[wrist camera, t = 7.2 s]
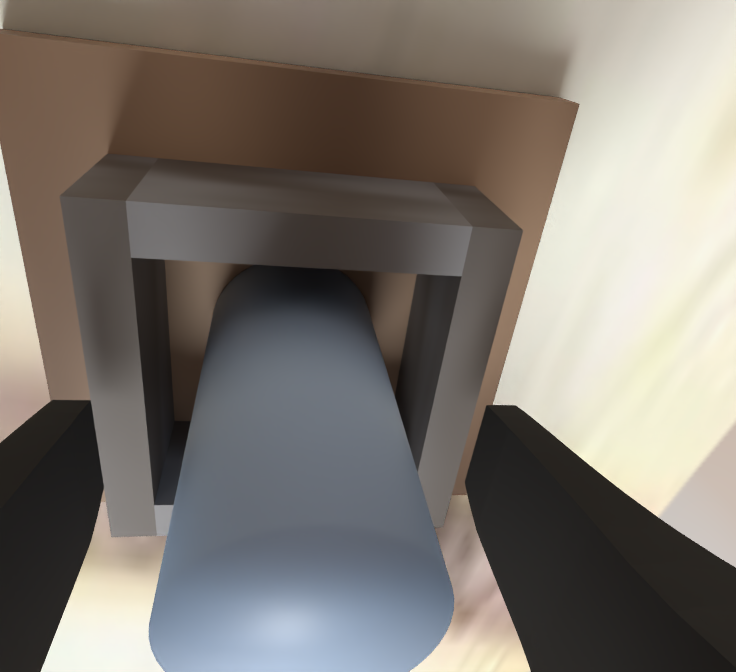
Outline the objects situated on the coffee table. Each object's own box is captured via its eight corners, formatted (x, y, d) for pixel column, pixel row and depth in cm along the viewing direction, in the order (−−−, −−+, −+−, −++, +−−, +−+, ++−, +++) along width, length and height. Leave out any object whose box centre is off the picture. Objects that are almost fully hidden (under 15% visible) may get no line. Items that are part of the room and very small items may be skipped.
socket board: (81, 477, 17) (32, 596, 13) (1, 28, 11) (-123, 39, 8) (457, 473, 19) (497, 574, 16) (559, 97, 13) (658, 129, 10)
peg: (211, 391, 15) (156, 720, 8) (211, 250, 13) (138, 527, 6) (359, 395, 16) (424, 699, 9) (380, 262, 14) (485, 521, 7)
